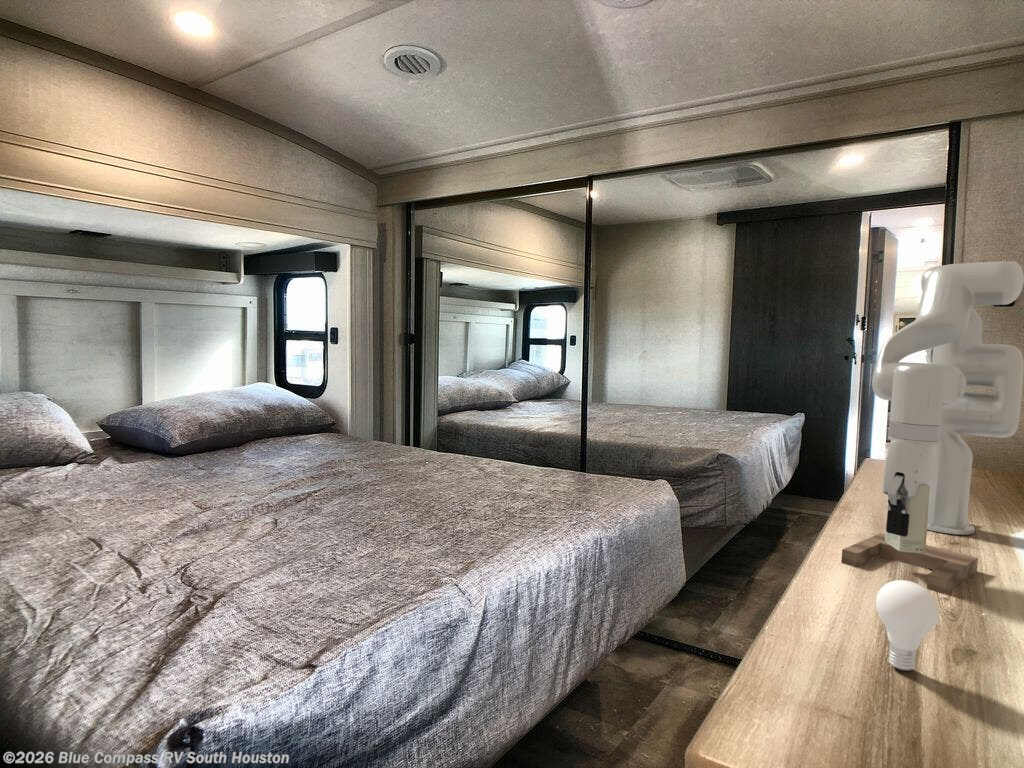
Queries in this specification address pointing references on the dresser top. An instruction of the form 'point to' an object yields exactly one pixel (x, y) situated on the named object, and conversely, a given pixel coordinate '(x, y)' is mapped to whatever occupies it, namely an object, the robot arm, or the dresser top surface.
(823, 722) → the dresser top surface
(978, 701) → the dresser top surface
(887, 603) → the lightbulb
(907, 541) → the skincare box
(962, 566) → the notched board
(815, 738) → the dresser top surface
